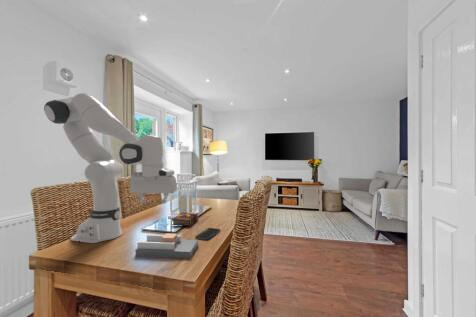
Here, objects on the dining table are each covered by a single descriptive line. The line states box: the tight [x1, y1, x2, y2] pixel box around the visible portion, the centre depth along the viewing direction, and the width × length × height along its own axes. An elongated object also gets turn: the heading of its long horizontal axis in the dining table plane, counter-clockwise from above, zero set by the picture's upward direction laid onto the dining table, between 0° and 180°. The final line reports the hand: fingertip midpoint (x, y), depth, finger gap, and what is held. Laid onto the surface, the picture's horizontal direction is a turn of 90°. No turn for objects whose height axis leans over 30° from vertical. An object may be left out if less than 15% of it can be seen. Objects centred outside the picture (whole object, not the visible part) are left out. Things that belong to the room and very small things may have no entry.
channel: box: [135, 234, 199, 259], centre depth 92 cm, size 23×12×5 cm, turn 86°
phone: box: [194, 227, 221, 242], centre depth 111 cm, size 8×1×15 cm
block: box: [162, 232, 178, 245], centre depth 92 cm, size 5×5×4 cm
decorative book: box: [171, 211, 199, 227], centre depth 130 cm, size 11×16×5 cm
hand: (153, 203), depth 92 cm, fingers open, 8 cm apart
